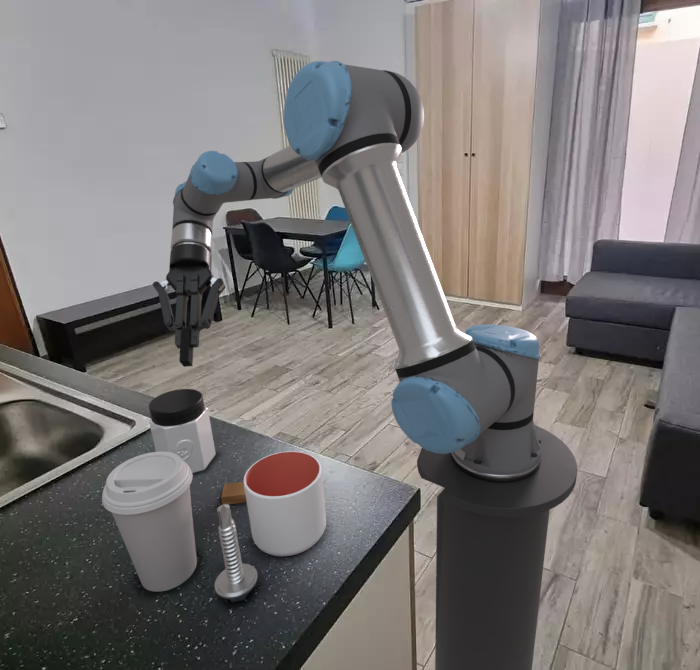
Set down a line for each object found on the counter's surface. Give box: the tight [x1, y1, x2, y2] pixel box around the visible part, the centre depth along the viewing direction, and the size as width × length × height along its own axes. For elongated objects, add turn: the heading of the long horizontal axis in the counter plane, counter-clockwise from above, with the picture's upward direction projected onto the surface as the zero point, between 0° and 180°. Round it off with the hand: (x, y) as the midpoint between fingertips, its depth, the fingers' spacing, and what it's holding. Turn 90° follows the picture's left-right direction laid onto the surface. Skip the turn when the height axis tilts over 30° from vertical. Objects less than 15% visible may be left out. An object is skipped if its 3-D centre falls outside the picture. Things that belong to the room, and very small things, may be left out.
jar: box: [148, 388, 217, 474], centre depth 81 cm, size 9×8×12 cm
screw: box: [214, 504, 259, 603], centre depth 56 cm, size 13×5×5 cm
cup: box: [243, 450, 327, 557], centre depth 65 cm, size 10×10×10 cm
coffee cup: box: [101, 451, 198, 593], centre depth 59 cm, size 10×10×15 cm
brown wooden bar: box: [220, 481, 247, 505], centre depth 75 cm, size 13×3×2 cm, turn 100°
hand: (185, 363), depth 86 cm, fingers closed
